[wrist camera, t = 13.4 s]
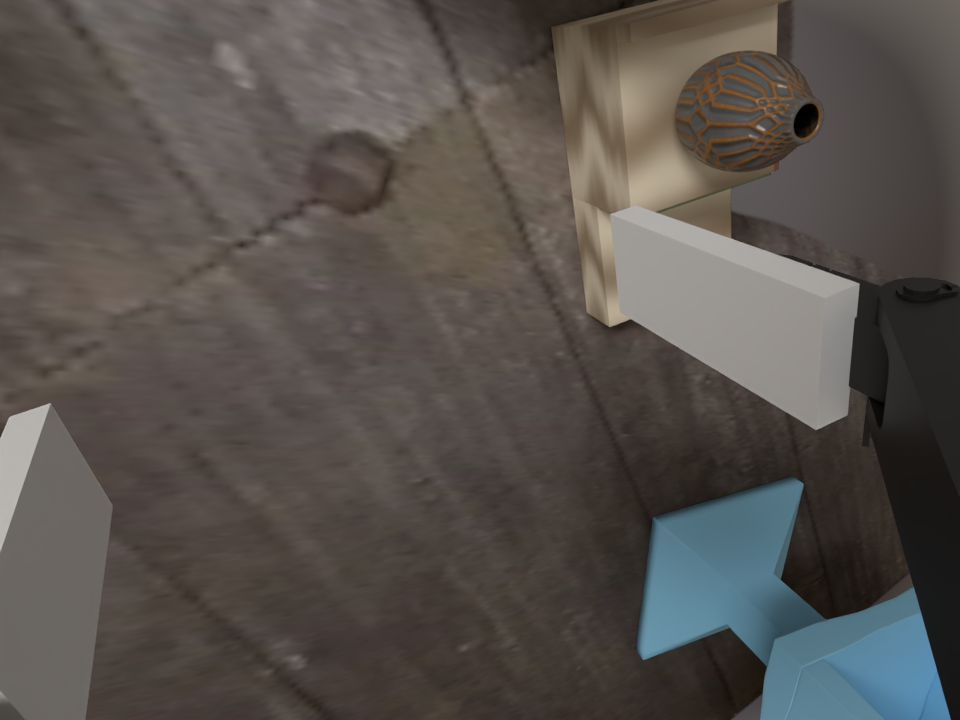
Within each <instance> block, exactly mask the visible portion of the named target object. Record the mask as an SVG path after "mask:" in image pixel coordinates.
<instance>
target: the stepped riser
mask: <svg viewBox="0 0 960 720" xmlns="http://www.w3.org/2000/svg"><path fill="white" fill-rule="evenodd" d="M786 1H790V0H657V1H653V2H649V3H645V4H641V5H637V6H633V7H629V8H625V9H621V10H617V11H613V12H609V13H605V14H601V15H597V16H593V17H589V18H585V19H581V20H577V21H573V22H569V23H565V24H561V25H557V26H553V27H551V31H552V39H553V47H554V54H555V62H556V70H557V78H558V86H559V94H560V102H561V110H562V118H563V126H564V133H565V141H566V149H567V157H568V165H569V173H570V181H571V189H572V197H573V205H574V213H575V220H576V228H577V236H578V244H579V252H580V260H581V268H582V276H583V284H584V292H585V300H586V307H587V313H588V314H590V315H592V316H593V317H595V318H596V319H598V320H599V321H601V322H602V323H604V324H605V325H607V326H609V327H612V326H614V325H617V324H619V323H622V322H625V321H627V320H630V318H629V317H627V316H625V315H624V314H622V313H620V309H619V299H618V289H617V279H616V269H615V259H614V249H613V239H612V229H611V219H610V214H612V213H615V212H618V211H621V210H624V209H627V208H630V207H633V206H639V207H642V208H645V209H648V210H650V211H653V212H656V213H659V214H662V215H665V216H668V217H670V218H673V219H676V220H679V221H682V222H685V223H688V224H690V225H693V226H696V227H699V228H702V229H705V230H708V231H711V232H713V233H716V234H719V235H722V236H725V237H728V238H731V188H734V187H736V186H739V185H742V184H745V183H748V182H751V181H754V180H757V179H760V178H762V177H765V176H768V175H771V172H773V171H776V170H778V169H779V168H778V167H779V162H777V163H775V164H773V165H771V166H769V167H766V168H763V169H759V170H755V171H750V172H727V171H722V170H718V169H715V168H712V167H709V166H707V165H705V164H703V163H701V162H700V161H698V160H697V159H695V158H694V157H693V156H692V155H691V154H690V153H689V152H688V151H687V150H686V148H685V147H684V146H683V144H682V142H681V141H680V138H679V136H678V132H677V128H676V121H675V113H676V105H677V101H678V98H679V95H680V93H681V91H682V89H683V87H684V85H685V84H686V82H687V81H688V79H689V78H690V77H691V75H692V74H693V73H694V72H695V71H696V70H697V69H698V68H700V67H701V66H702V65H704V64H705V63H707V62H708V61H710V60H712V59H714V58H716V57H718V56H721V55H724V54H727V53H730V52H736V51H749V50H753V51H763V52H768V53H771V54H774V55H777V15H778V4H779V3H783V2H786Z"/></svg>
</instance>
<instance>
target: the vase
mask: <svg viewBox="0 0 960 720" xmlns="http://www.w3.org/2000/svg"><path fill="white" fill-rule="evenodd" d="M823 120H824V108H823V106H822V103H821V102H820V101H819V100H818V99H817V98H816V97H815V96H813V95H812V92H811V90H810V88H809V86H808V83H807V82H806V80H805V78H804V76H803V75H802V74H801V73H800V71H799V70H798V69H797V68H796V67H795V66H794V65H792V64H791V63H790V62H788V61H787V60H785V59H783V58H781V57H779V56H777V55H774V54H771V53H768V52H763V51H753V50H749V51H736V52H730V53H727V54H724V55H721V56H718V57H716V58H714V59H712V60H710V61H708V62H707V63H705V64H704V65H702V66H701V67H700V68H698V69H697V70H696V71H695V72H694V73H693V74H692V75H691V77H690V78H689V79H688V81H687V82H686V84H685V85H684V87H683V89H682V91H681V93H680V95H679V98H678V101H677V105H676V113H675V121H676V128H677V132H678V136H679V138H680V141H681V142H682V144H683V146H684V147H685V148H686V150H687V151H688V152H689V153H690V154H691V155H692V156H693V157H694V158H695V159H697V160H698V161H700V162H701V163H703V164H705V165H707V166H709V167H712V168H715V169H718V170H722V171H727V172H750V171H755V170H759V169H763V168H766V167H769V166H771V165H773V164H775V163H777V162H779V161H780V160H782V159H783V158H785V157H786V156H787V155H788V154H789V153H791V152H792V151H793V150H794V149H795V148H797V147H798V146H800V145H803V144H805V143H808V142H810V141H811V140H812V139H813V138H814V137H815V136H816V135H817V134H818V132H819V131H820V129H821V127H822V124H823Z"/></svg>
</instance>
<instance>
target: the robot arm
mask: <svg viewBox="0 0 960 720" xmlns="http://www.w3.org/2000/svg"><path fill="white" fill-rule="evenodd" d="M610 219H611V229H612V239H613V249H614V259H615V269H616V279H617V289H618V299H619V309H620V313H622V314H624V315H625V316H627V317H629V318H630V319H632V320H634V321H635V322H637V323H639V324H640V325H642V326H644V327H645V328H647V329H649V330H650V331H652V332H654V333H655V334H657V335H659V336H660V337H662V338H664V339H665V340H667V341H669V342H670V343H672V344H674V345H675V346H677V347H679V348H680V349H682V350H684V351H685V352H687V353H689V354H690V355H692V356H694V357H695V358H697V359H699V360H700V361H702V362H704V363H705V364H707V365H709V366H710V367H712V368H714V369H715V370H717V371H719V372H720V373H722V374H724V375H725V376H727V377H729V378H730V379H732V380H734V381H735V382H737V383H739V384H740V385H742V386H744V387H745V388H747V389H749V390H750V391H752V392H754V393H755V394H757V395H759V396H760V397H762V398H764V399H765V400H767V401H769V402H770V403H772V404H773V405H775V406H777V407H778V408H780V409H782V410H783V411H785V412H787V413H788V414H790V415H792V416H793V417H795V418H797V419H798V420H800V421H802V422H803V423H805V424H807V425H808V426H810V427H812V428H813V429H815V430H817V429H820V428H822V427H824V426H826V425H828V424H830V423H832V422H834V421H836V420H839V419H841V418H843V417H845V416H847V415H848V405H849V394H850V387H851V388H853V389H855V390H857V391H859V392H861V393H863V394H865V395H867V405H866V414H865V423H864V433H863V442H862V446H869V442H870V439H871V438H872V439H873V442H874V446H875V449H876V453H877V456H878V460H879V464H880V467H881V471H882V474H883V478H884V482H885V485H886V489H887V492H888V496H889V500H890V503H891V507H892V510H893V514H894V518H895V521H896V525H897V528H898V532H899V536H900V539H901V543H902V546H903V550H904V553H905V557H906V561H907V564H908V568H909V571H910V575H911V579H912V582H913V586H914V589H915V593H916V597H917V600H918V604H919V607H920V611H921V615H922V618H923V622H924V625H925V629H926V633H927V636H928V640H929V643H930V647H931V650H932V654H933V658H934V661H935V665H936V668H937V672H938V676H939V679H940V683H941V686H942V690H943V694H944V697H945V701H946V704H947V708H948V712H949V715H950V719H951V720H960V287H959V286H957V285H955V284H952V283H950V282H947V281H944V280H938V279H932V278H905V279H897V280H894V281H891V282H888V283H885V284H884V285H883V286H882V287H881V286H878V285H875V284H872V283H869V282H866V281H864V280H861V279H858V278H855V277H852V276H849V275H846V274H843V273H840V272H837V271H834V270H832V271H829V268H826V267H823V266H820V265H817V264H816V265H813V263H811V262H808V261H805V260H802V259H799V258H796V257H794V256H788V255H780V254H774V253H771V252H768V251H765V250H762V249H759V248H756V247H753V246H751V245H748V244H745V243H742V242H739V241H736V240H733V239H731V238H728V237H725V236H722V235H719V234H716V233H713V232H711V231H708V230H705V229H702V228H699V227H696V226H693V225H690V224H688V223H685V222H682V221H679V220H676V219H673V218H670V217H668V216H665V215H662V214H659V213H656V212H653V211H650V210H648V209H645V208H642V207H639V206H633V207H630V208H627V209H624V210H621V211H618V212H615V213H612V214H610ZM112 508H113V505H112V504H111V502H110V500H109V499H108V497H107V496H106V494H105V492H104V491H103V489H102V487H101V486H100V484H99V482H98V481H97V479H96V477H95V476H94V474H93V472H92V471H91V469H90V467H89V466H88V464H87V462H86V461H85V459H84V457H83V456H82V454H81V453H80V451H79V449H78V448H77V446H76V444H75V443H74V441H73V439H72V438H71V436H70V434H69V433H68V431H67V429H66V428H65V426H64V424H63V423H62V421H61V419H60V418H59V416H58V414H57V413H56V411H55V410H54V408H53V406H52V405H51V403H50V404H47V405H44V406H41V407H38V408H35V409H32V410H29V411H26V412H23V413H20V414H17V415H14V416H11V417H9V419H8V422H7V424H6V426H5V429H4V431H3V433H2V436H1V438H0V720H85V718H86V710H87V703H88V695H89V687H90V679H91V671H92V664H93V656H94V648H95V640H96V633H97V625H98V617H99V609H100V601H101V594H102V586H103V578H104V570H105V563H106V555H107V547H108V539H109V531H110V524H111V516H112Z"/></svg>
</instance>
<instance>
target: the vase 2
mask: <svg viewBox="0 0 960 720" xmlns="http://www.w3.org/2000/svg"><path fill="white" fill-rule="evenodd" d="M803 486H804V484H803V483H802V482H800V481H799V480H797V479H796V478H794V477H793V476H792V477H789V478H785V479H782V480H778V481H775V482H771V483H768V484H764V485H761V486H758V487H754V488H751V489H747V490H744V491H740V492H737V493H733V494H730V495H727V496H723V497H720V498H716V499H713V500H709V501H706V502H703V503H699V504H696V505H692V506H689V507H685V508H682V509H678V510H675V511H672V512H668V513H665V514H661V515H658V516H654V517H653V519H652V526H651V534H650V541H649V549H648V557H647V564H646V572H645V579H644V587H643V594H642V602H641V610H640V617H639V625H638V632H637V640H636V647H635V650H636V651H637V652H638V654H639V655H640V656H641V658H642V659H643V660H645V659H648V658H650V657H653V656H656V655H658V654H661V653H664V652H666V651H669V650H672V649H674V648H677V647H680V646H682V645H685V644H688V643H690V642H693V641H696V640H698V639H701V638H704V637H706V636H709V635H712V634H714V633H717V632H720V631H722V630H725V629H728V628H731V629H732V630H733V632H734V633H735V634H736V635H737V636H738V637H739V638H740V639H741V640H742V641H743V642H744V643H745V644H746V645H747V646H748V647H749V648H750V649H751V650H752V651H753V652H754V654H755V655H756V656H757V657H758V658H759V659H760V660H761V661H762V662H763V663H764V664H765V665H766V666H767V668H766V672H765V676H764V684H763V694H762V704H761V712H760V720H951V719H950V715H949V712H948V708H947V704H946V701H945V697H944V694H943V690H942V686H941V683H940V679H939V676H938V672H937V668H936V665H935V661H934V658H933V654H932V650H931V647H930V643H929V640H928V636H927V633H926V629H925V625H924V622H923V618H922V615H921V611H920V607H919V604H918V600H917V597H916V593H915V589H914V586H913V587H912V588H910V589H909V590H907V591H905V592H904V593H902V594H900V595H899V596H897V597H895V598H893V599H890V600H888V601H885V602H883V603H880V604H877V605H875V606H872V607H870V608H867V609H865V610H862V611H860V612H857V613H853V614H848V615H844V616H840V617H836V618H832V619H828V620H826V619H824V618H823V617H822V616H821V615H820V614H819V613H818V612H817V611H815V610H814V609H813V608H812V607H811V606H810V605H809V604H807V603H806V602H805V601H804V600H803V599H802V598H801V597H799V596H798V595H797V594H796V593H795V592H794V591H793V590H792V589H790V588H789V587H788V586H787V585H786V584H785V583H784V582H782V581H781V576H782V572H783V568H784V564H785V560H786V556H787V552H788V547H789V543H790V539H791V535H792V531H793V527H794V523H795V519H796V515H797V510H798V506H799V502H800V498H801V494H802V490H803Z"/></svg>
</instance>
